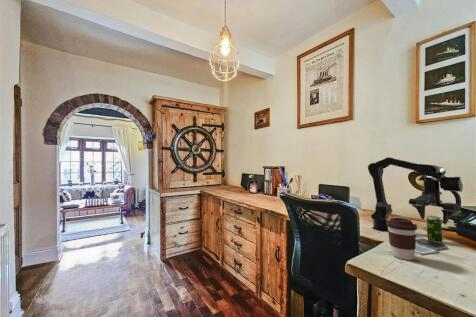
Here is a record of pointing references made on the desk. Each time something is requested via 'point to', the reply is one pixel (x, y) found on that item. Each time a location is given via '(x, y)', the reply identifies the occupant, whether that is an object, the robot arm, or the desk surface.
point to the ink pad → (430, 244)
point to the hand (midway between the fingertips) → (433, 221)
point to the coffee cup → (402, 238)
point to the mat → (424, 250)
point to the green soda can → (434, 229)
